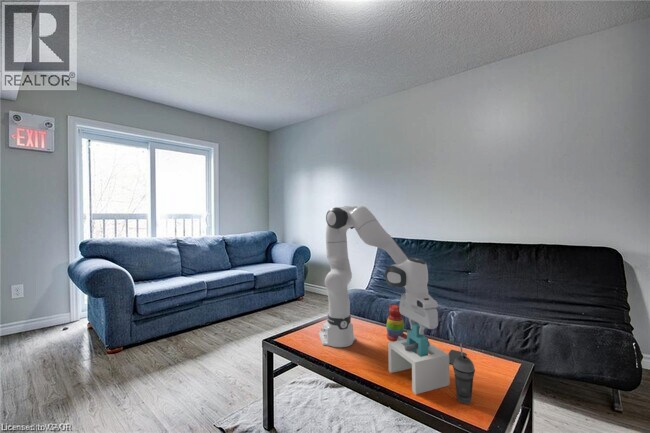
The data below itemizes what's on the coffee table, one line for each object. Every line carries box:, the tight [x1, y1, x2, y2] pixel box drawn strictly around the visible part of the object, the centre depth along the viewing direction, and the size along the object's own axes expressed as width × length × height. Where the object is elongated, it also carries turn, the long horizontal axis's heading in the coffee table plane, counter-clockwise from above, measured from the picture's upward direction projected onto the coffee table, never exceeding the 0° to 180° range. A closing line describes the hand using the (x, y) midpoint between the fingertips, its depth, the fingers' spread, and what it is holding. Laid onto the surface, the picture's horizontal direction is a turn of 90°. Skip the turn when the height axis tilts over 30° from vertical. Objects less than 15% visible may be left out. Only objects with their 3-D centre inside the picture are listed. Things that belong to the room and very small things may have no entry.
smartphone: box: [448, 349, 467, 366], centre depth 136 cm, size 7×1×15 cm
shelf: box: [387, 339, 450, 395], centre depth 120 cm, size 18×16×14 cm
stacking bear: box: [385, 304, 407, 342], centre depth 159 cm, size 11×10×18 cm
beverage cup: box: [452, 342, 476, 405], centre depth 105 cm, size 7×7×20 cm
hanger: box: [406, 322, 429, 357], centre depth 120 cm, size 9×4×15 cm, turn 21°
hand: (417, 331), depth 120 cm, fingers closed on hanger, 3 cm apart
